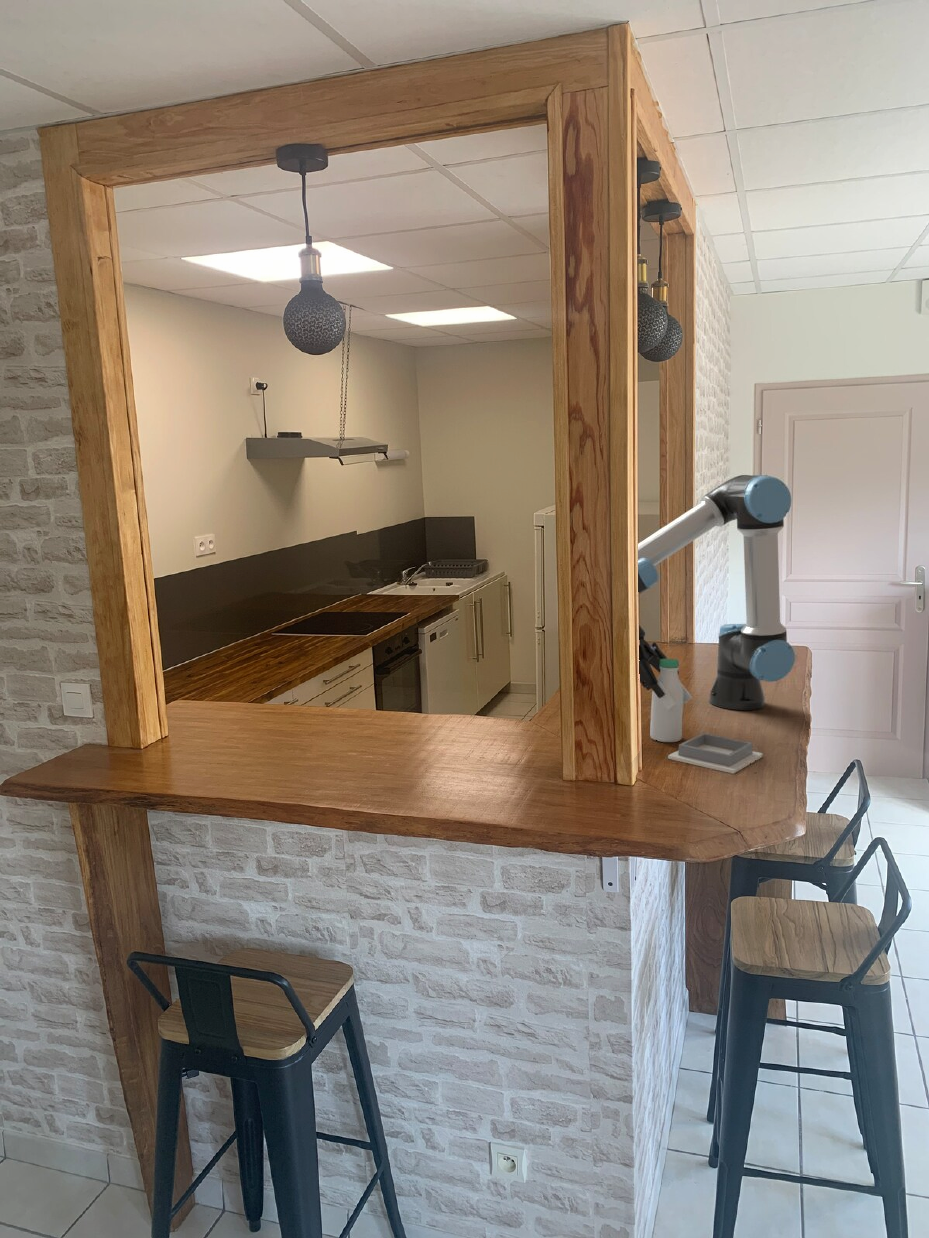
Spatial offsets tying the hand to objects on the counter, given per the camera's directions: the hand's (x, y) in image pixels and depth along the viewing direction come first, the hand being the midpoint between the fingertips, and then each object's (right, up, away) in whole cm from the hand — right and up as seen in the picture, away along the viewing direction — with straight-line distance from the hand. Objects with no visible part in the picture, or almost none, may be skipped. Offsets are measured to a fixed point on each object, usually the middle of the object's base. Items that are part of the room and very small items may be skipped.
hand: (680, 703), depth 227 cm
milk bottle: (-3, -9, +4) cm, 10 cm away
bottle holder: (+6, -12, -11) cm, 17 cm away
